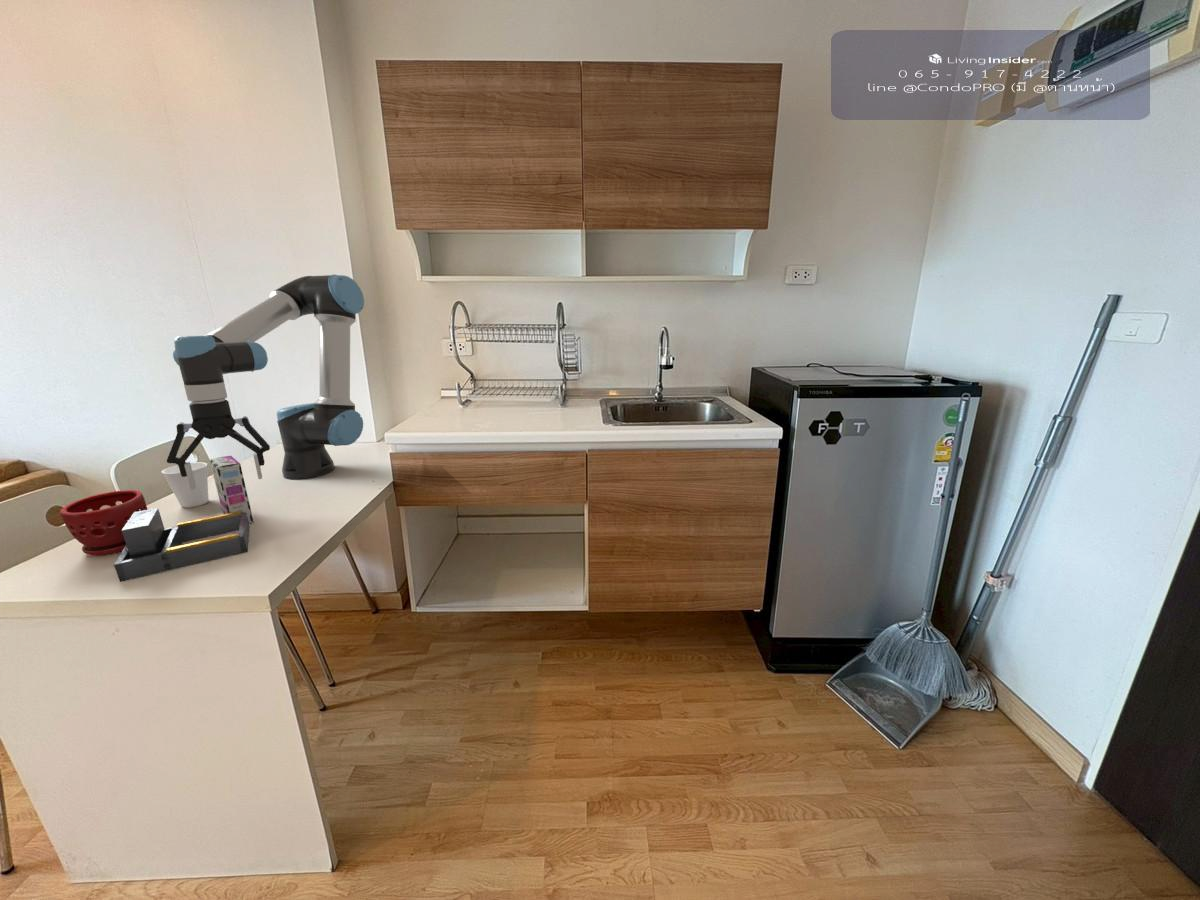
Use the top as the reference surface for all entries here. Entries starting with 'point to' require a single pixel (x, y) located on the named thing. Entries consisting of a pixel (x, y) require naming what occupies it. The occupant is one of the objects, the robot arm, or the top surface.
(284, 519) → the top surface
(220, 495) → the candy bar box
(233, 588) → the top surface
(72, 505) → the plant pot
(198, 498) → the cup
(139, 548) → the tray
